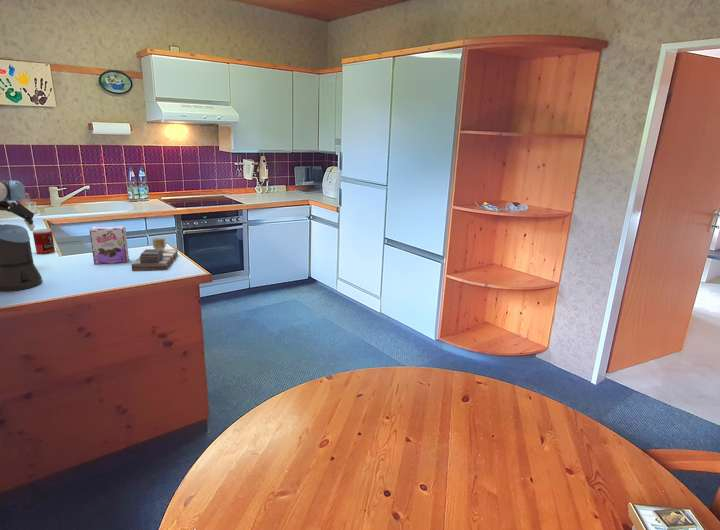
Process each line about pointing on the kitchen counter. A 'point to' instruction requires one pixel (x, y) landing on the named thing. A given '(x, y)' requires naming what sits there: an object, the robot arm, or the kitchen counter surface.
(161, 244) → the bolt
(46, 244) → the canned food
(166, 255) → the door mockup
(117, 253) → the candy box
